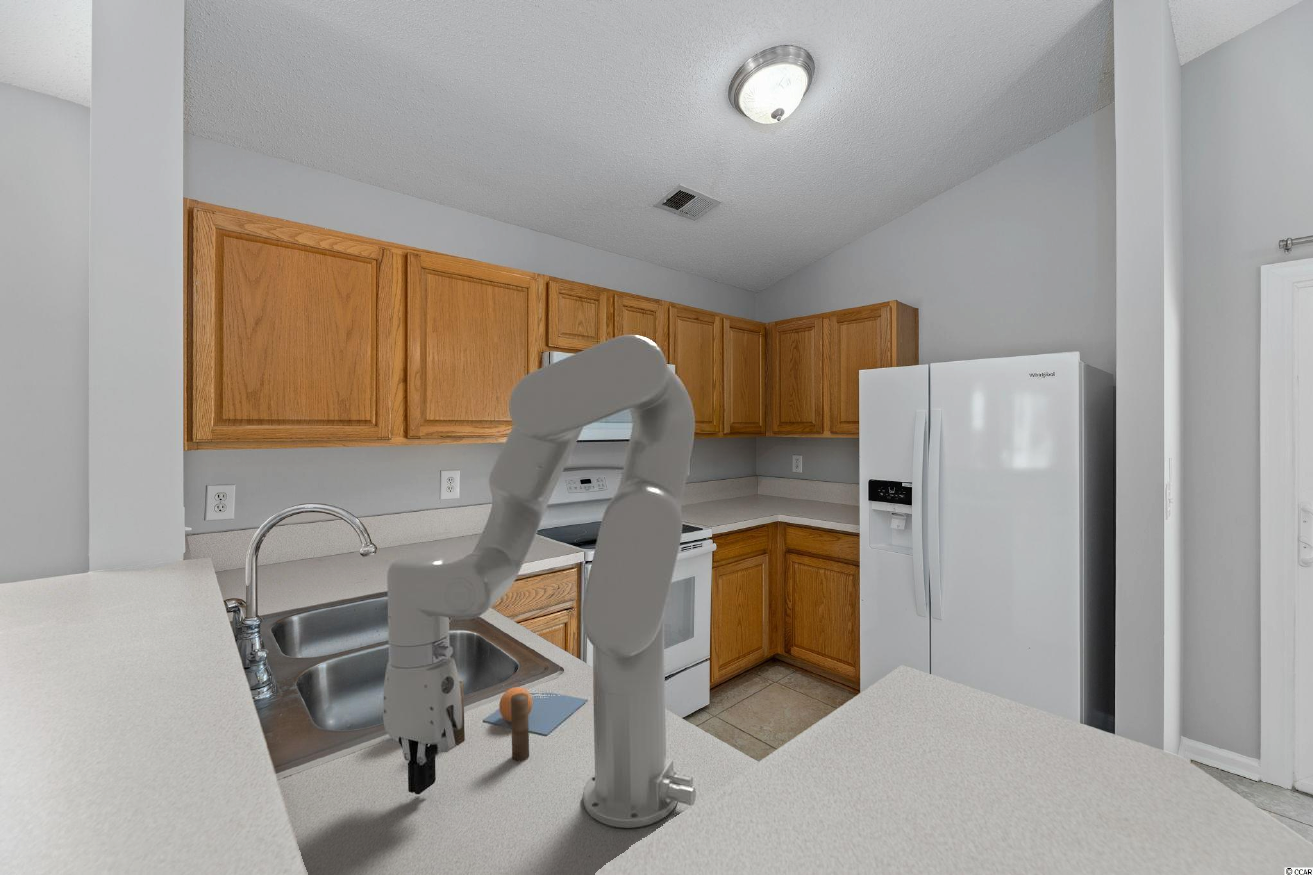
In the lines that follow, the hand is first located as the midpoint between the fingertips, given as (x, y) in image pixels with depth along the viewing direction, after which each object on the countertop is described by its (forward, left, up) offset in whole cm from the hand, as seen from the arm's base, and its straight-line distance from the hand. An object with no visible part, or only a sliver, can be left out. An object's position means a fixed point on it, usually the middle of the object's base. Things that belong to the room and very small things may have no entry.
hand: (422, 787), depth 75 cm
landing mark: (0, -26, -2) cm, 26 cm away
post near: (-6, -13, -2) cm, 15 cm away
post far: (+6, -13, -2) cm, 14 cm away
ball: (+1, -22, +1) cm, 22 cm away
